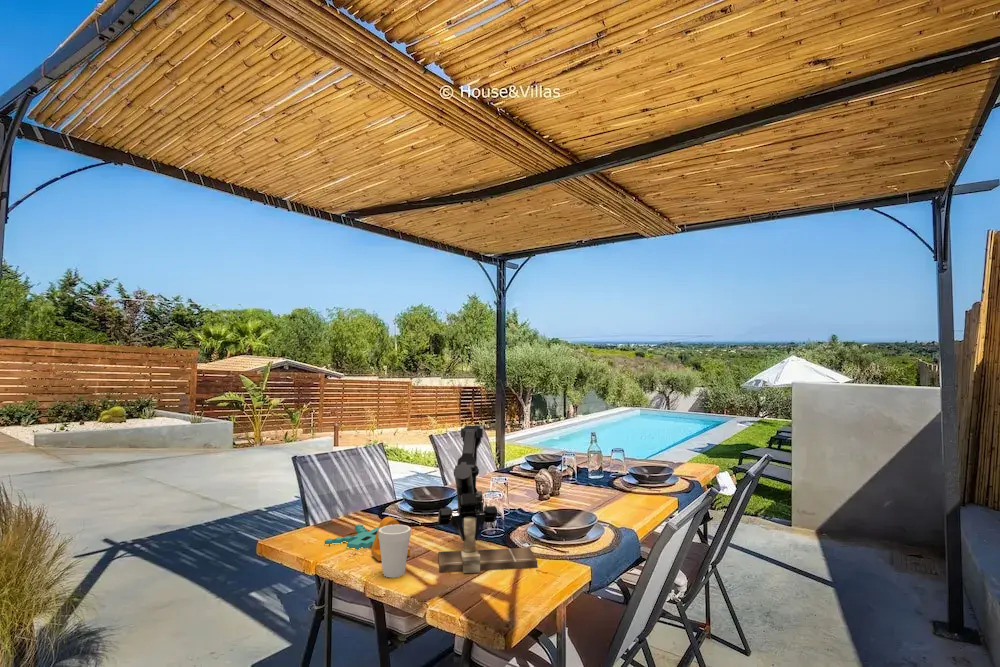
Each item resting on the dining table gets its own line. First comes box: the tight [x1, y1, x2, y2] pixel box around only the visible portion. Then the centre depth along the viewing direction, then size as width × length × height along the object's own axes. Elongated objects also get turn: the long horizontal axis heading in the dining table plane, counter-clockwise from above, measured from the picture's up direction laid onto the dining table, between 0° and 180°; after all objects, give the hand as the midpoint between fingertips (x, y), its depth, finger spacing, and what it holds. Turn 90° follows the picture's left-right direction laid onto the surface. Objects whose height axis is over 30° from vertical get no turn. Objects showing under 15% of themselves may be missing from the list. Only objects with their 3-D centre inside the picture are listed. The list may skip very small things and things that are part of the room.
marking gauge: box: [460, 517, 481, 574], centre depth 164 cm, size 5×10×14 cm, turn 8°
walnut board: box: [437, 547, 538, 573], centre depth 167 cm, size 30×12×2 cm, turn 98°
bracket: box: [370, 516, 411, 562], centre depth 172 cm, size 11×7×12 cm, turn 122°
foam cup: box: [378, 524, 412, 578], centre depth 159 cm, size 10×9×13 cm
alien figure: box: [324, 523, 379, 550], centre depth 189 cm, size 20×2×20 cm
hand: (470, 540), depth 166 cm, fingers closed on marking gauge, 4 cm apart
